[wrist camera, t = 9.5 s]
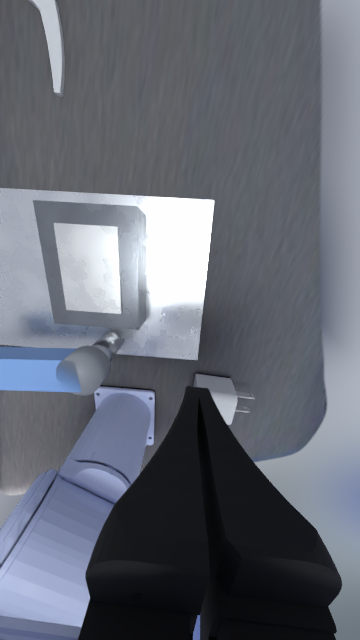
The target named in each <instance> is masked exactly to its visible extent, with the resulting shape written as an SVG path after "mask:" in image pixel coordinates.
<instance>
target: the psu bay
mask: <svg viewBox="0 0 360 640" xmlns="http://www.w3.org/2000/svg"><path fill="white" fill-rule="evenodd" d="M213 209H214V200H203V199H185V198H168V197H150V196H132V195H115V194H97V193H79V192H61V191H44V190H26V189H8V188H0V345H11V346H23V347H36V348H79V347H82V346H94V347H97V348H99V349H100V350H102V351H103V352H104V353H105V354H106V355H107V356H108V358H109V360H111V359H112V358H113V357H114V355H115V354H125V355H137V356H150V357H163V358H175V359H188V360H197V359H198V350H199V341H200V331H201V322H202V312H203V303H204V294H205V284H206V275H207V265H208V256H209V247H210V237H211V228H212V218H213Z"/></svg>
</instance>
